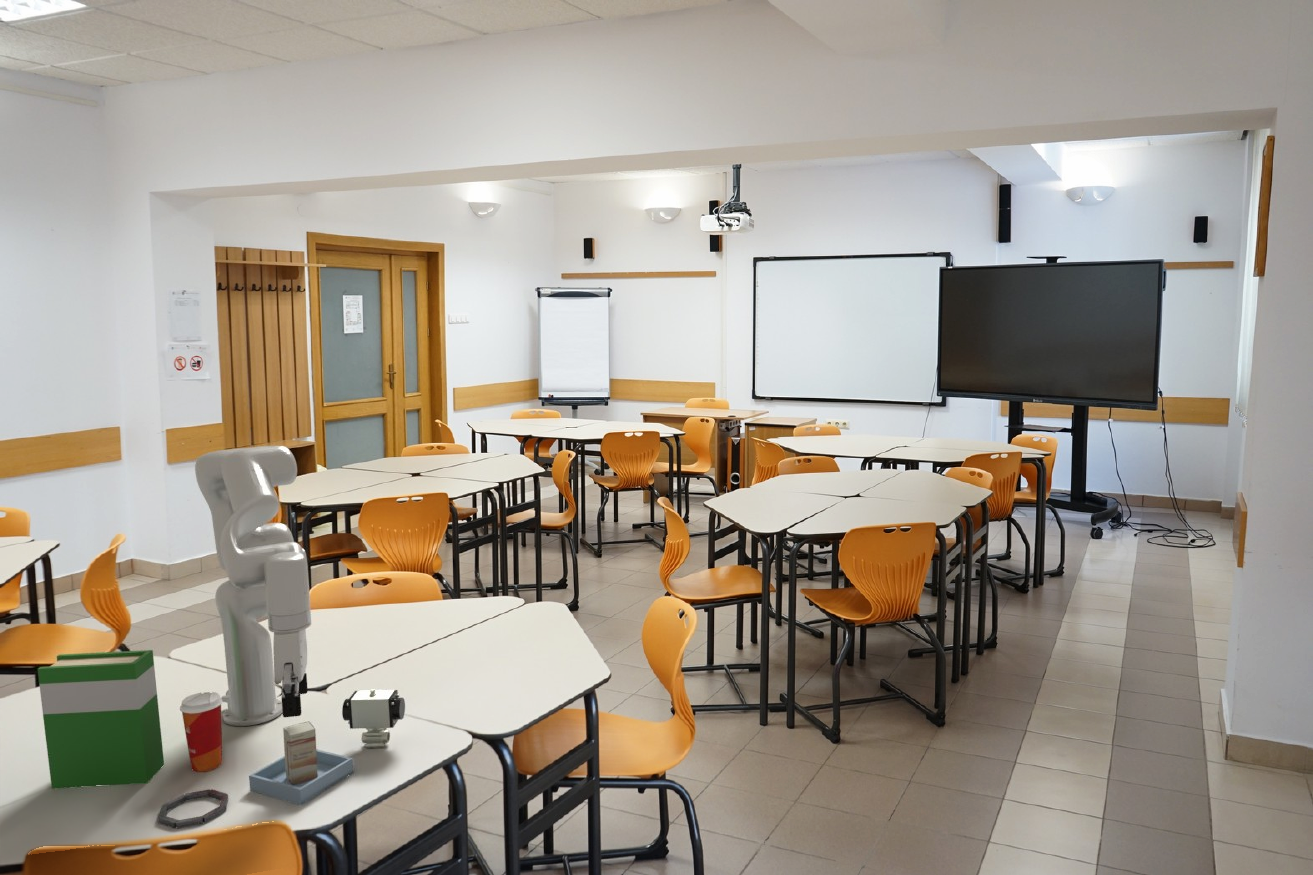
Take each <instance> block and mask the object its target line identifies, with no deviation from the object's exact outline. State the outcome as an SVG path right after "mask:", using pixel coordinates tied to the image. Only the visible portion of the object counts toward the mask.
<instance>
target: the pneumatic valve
mask: <svg viewBox="0 0 1313 875" xmlns="http://www.w3.org/2000/svg"><path fill="white" fill-rule="evenodd" d="M341 711H342V712H341V715H342V719H343V721H346V722H347V721H348V722H347V724H348V725H349V729H350V730H351V729H352V730H353V729H365V730H364V731H363V732H362V734H361V742H362V744H364V745H363V746H364V748H366V749H374V748H375V749H380V748H384V747H385V744H388V743H389V742H390V739H391V732H390V731H389V730H387V729H391V728H392V729H393V728H394V727H395V726H396V724H397V723H398V721H399V720H403V719H404V717H405V714H406V713H405V712H406V702H405V698H404V697H400V694H399V692H398V689H386V690H385V689H381V688H380V689H378V690H377V689H376V688H373V689H369V690H354V692H353V693H352V694H351V695H350V697H349V698H345V700H343V704H342V709H341Z"/></svg>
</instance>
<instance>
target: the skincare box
mask: <svg viewBox="0 0 1313 875" xmlns="http://www.w3.org/2000/svg"><path fill="white" fill-rule="evenodd" d="M282 729H283V730H282V732H283V747H284V756H285V770H286V778H287V779H288V781H289V782H290V783H291V784H292V785H295V784H298V783H302V782H305V781H309V780H312V779H315V778H317V777H318V773H317V752H316V749H317V737H316V736H317V735H316V733H317V732H316V727H315V726H314V725H313V724H312V722H310V720H309V721H304V722H300V723H295V724H292V725H289V726H283V727H282Z"/></svg>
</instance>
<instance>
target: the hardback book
mask: <svg viewBox="0 0 1313 875" xmlns="http://www.w3.org/2000/svg"><path fill="white" fill-rule="evenodd" d="M154 659H155V658H154V650H152V649H149V650H148V649H147V650H146V649H145V650H129V651H126V650H125V651H109V652H108V651H107V652H105V651H104V652H103V651H102V652H87V653H85V652H84V653H66V654H65V653H63V654H58V655H56V662H54V663H53V664H52V665H50V666H39V667H38V668H37V676H38V683H39V692H40V700H41V709H42V719H43V726H44V734H45V742H46V752H47V761H48V767H49V768H48V769H49V777H50V784H51V789H52V790H53V789H54V790H55V788H58V789H70V787H75V788H82V787H81V786H93V787H97V786H96V785H110V786H123V785H127V786H128V785H140V784H141V785H142V784H148V783H149V782H150V781H151V780H152V779H153V778H154V777H155V776H156V775H157V773H158V772H159V771H160V770H161V769H162V768H163V767H164V766H165V760H164V759H165V758H164V749H163V740H162V738H163V737H162V729H161V721H160V720H161V719H160V718H161V717H160V711H159V710H160V708H159V702H158V701H159V700H158V691H157V680H156V679H157V678H156V671H155V660H154ZM163 765H164V766H163ZM162 766H163V767H162ZM161 767H162V768H161ZM154 775H155V776H154ZM153 776H154V777H153Z"/></svg>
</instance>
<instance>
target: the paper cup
mask: <svg viewBox="0 0 1313 875" xmlns="http://www.w3.org/2000/svg"><path fill="white" fill-rule="evenodd" d="M221 698H222V697H221V695H220V693H218V692H215V691H212V692H210V691H208V692H203V693H202V692H197V693H194V694H192V695H191V694H190V695H188V696H186V697H185V698H184V699H183V700H181V705H180V707H179V710H180V712H182V713H181V714H182V721H183V726H184V727H183V728H184V732H185V739H186V744H187V751H188V756H189V762H190V768H191V769H192V771H193V772H197V773H203V772H204V773H205V772H210V771H213V770H215V769H217V768H219V767H220V766H221V765H223V728H222V727H223V726H222V725H223V724H222V720H223V719H222V703H224V702H223V700H222V699H221Z"/></svg>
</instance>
